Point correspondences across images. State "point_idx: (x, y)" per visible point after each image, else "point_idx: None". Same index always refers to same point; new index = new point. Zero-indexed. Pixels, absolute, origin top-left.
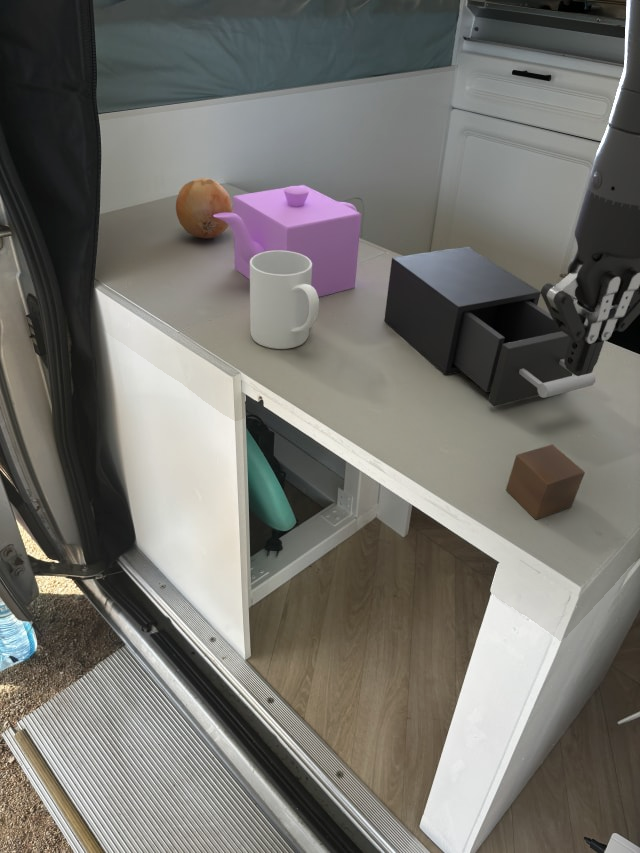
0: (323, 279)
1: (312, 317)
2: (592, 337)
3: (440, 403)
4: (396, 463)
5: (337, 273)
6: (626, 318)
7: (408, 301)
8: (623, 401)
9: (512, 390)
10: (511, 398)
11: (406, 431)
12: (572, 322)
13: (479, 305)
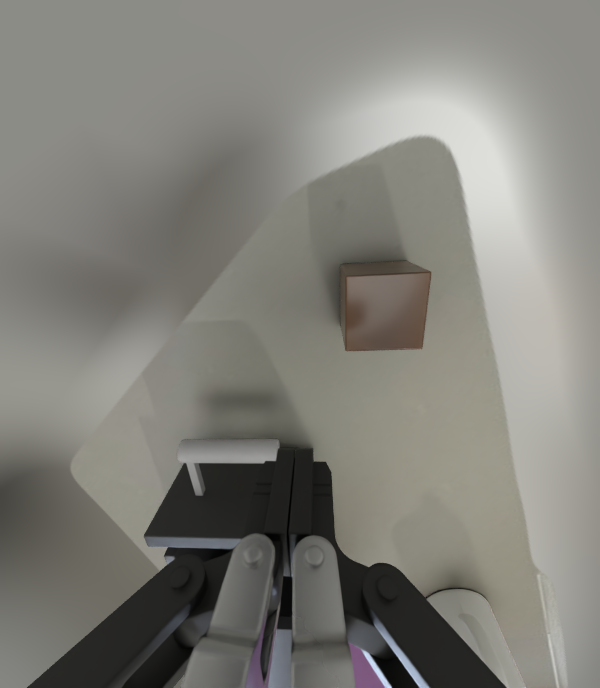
0: (366, 666)
1: (487, 644)
2: (323, 561)
3: (362, 475)
4: (495, 408)
5: None
6: (164, 615)
7: None
8: (126, 410)
9: None
10: None
11: (439, 449)
12: (474, 681)
13: (282, 623)
